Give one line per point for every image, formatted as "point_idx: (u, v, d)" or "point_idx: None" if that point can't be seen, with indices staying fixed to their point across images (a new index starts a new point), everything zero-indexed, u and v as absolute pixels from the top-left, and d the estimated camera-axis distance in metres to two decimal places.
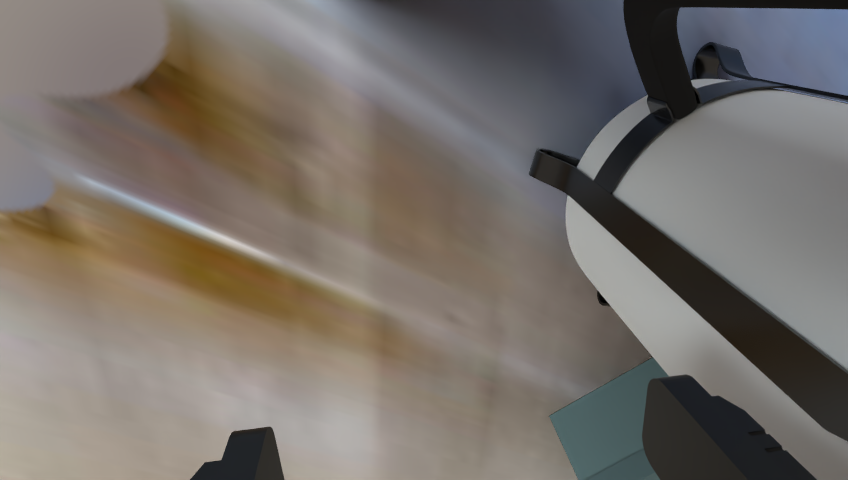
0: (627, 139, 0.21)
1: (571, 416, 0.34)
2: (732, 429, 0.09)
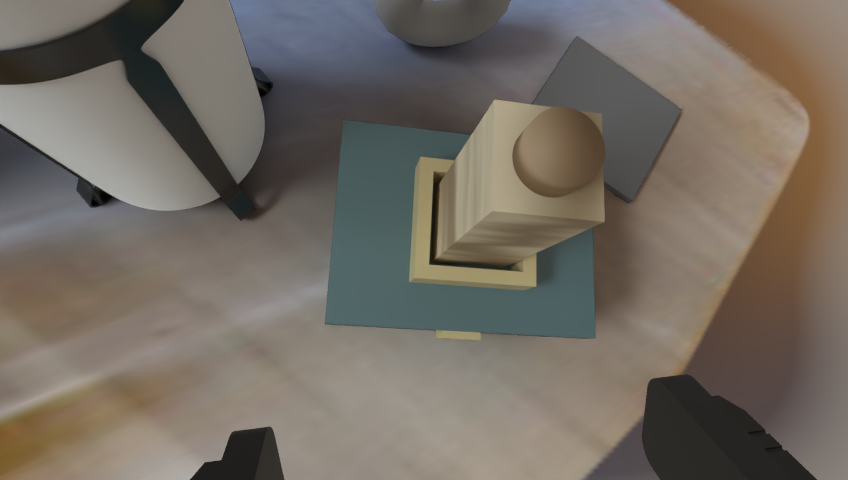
0: None
1: None
2: (732, 429, 0.09)
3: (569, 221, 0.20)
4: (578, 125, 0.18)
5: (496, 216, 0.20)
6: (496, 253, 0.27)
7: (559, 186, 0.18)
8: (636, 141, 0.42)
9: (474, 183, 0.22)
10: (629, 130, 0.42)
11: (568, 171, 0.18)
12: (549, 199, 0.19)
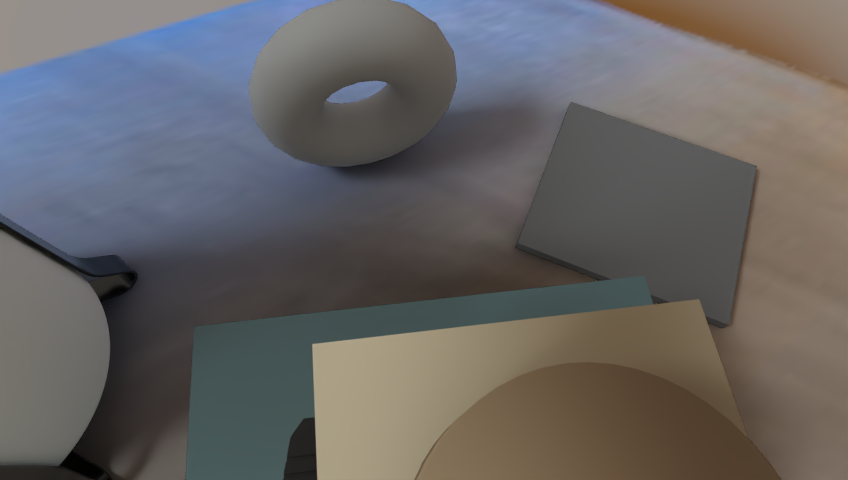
0: None
1: None
2: None
3: None
4: (645, 443, 0.04)
5: None
6: None
7: None
8: (704, 229, 0.27)
9: None
10: (688, 215, 0.27)
11: None
12: None
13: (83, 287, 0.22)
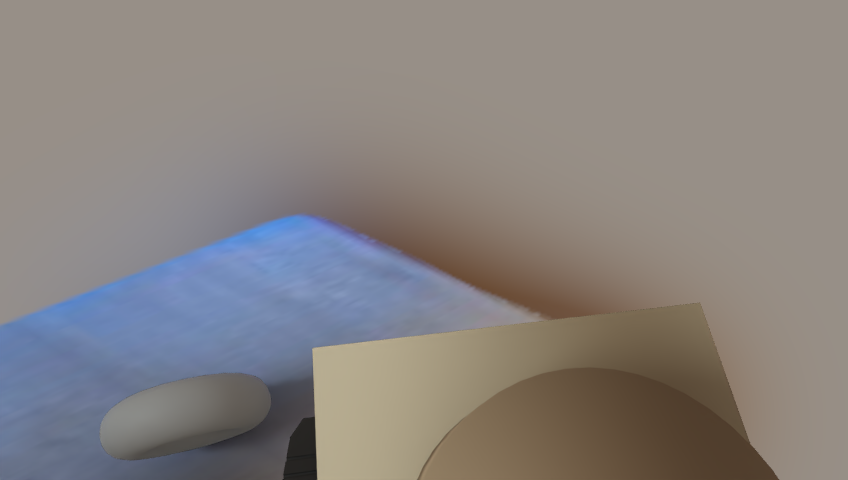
0: None
1: None
2: None
3: None
4: (646, 449, 0.04)
5: None
6: None
7: None
8: None
9: None
10: None
11: None
12: None
13: None
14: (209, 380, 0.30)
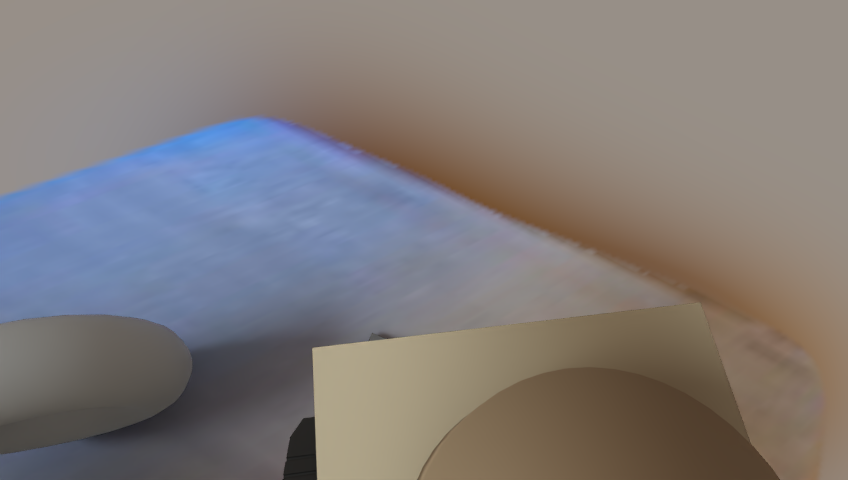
0: None
1: None
2: None
3: None
4: (647, 449, 0.04)
5: None
6: None
7: None
8: None
9: None
10: None
11: None
12: None
13: None
14: (65, 322, 0.17)
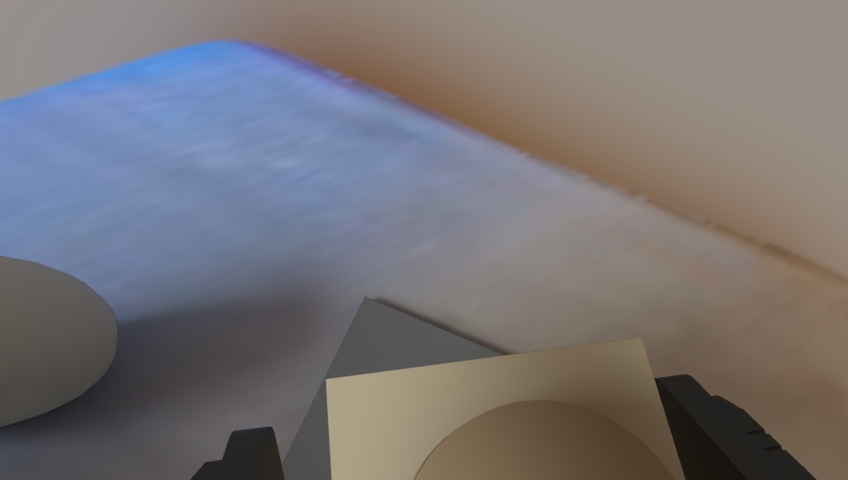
0: None
1: None
2: (732, 429, 0.09)
3: None
4: (580, 462, 0.05)
5: None
6: None
7: None
8: None
9: None
10: None
11: None
12: None
13: None
14: None
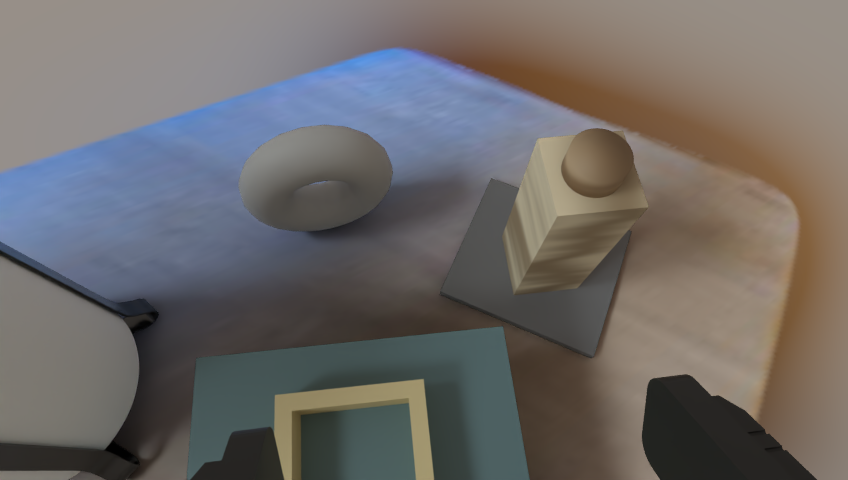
0: None
1: None
2: (732, 429, 0.09)
3: (620, 213, 0.25)
4: (606, 139, 0.24)
5: (561, 221, 0.25)
6: (568, 269, 0.31)
7: (604, 184, 0.23)
8: (584, 281, 0.36)
9: (536, 207, 0.27)
10: None
11: (608, 172, 0.23)
12: (599, 199, 0.25)
13: (121, 325, 0.31)
14: (346, 127, 0.31)
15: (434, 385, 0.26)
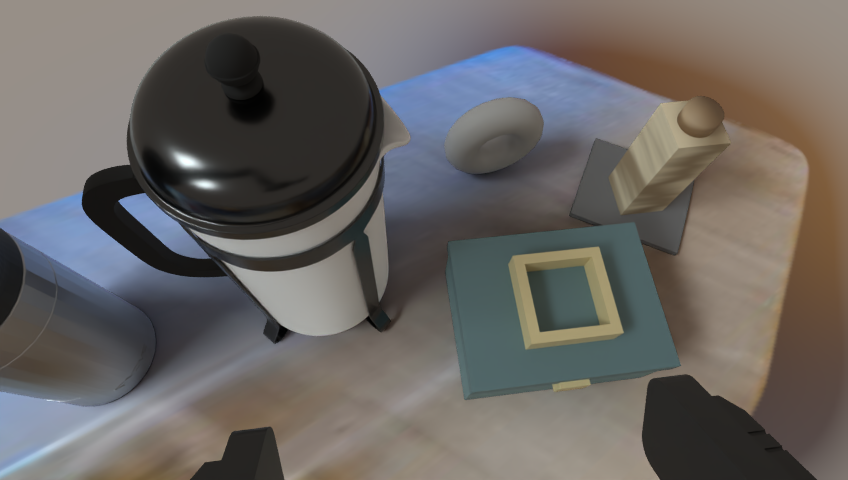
0: None
1: (463, 382, 0.44)
2: (732, 429, 0.09)
3: (713, 147, 0.41)
4: (707, 102, 0.41)
5: (679, 152, 0.41)
6: (665, 192, 0.48)
7: (708, 128, 0.40)
8: (667, 206, 0.52)
9: (656, 147, 0.44)
10: None
11: (710, 121, 0.40)
12: (702, 138, 0.41)
13: None
14: (522, 99, 0.47)
15: None
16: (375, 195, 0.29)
